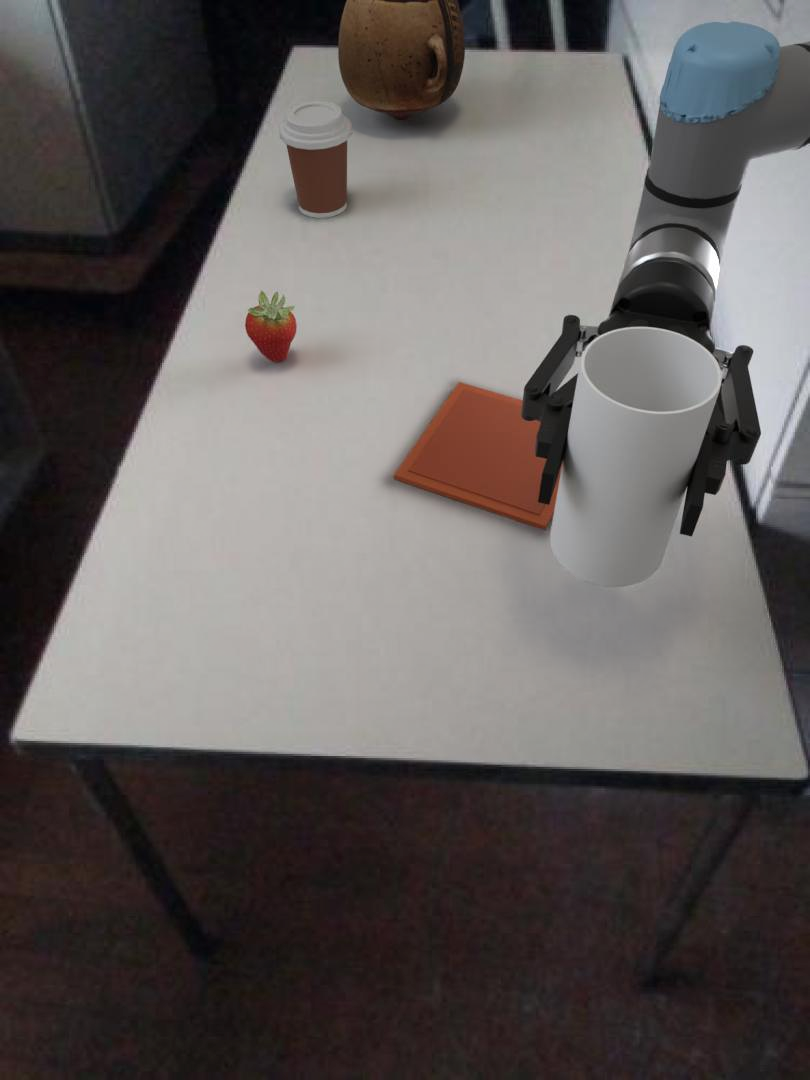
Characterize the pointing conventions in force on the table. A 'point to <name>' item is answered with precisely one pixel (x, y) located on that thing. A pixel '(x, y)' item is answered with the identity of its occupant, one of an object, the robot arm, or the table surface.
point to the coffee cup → (318, 156)
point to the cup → (630, 451)
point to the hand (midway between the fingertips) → (617, 504)
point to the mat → (482, 456)
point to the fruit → (271, 327)
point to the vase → (401, 53)
